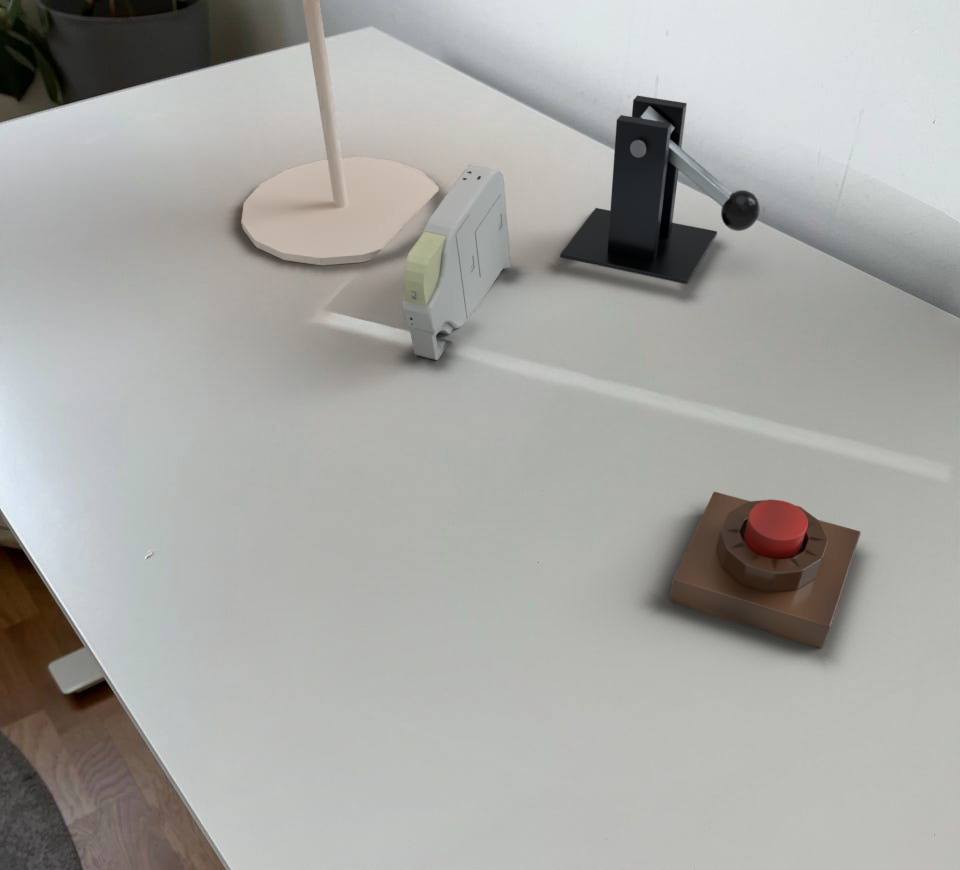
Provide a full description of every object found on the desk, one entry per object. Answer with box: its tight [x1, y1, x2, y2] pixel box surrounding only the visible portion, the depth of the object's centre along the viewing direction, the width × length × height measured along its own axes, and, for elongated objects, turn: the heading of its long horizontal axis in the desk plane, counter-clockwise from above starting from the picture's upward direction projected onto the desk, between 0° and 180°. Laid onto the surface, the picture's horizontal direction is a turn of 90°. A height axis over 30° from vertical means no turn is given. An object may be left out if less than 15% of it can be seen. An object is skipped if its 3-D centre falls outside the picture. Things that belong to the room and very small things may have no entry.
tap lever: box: [640, 106, 761, 232], centre depth 83 cm, size 13×3×3 cm, turn 66°
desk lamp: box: [240, 0, 440, 266], centre depth 86 cm, size 30×30×31 cm
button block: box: [668, 491, 862, 649], centre depth 64 cm, size 10×9×4 cm
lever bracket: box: [559, 95, 718, 285], centre depth 86 cm, size 12×9×13 cm
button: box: [744, 499, 808, 559], centre depth 62 cm, size 4×4×2 cm
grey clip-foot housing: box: [402, 163, 512, 361], centre depth 82 cm, size 11×3×15 cm
